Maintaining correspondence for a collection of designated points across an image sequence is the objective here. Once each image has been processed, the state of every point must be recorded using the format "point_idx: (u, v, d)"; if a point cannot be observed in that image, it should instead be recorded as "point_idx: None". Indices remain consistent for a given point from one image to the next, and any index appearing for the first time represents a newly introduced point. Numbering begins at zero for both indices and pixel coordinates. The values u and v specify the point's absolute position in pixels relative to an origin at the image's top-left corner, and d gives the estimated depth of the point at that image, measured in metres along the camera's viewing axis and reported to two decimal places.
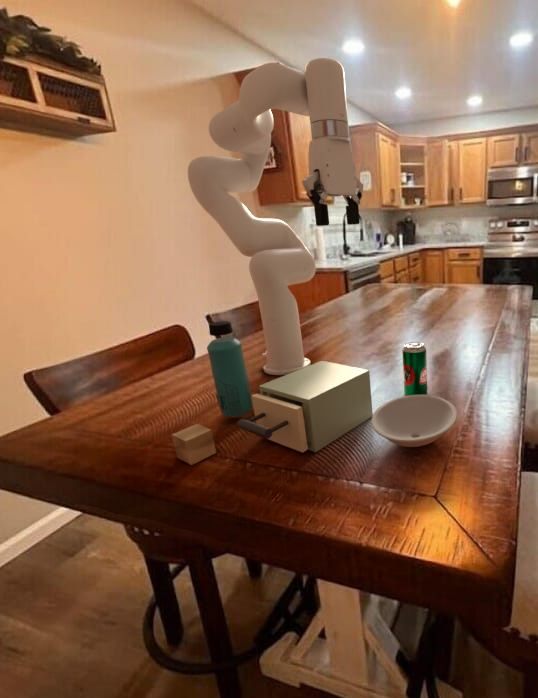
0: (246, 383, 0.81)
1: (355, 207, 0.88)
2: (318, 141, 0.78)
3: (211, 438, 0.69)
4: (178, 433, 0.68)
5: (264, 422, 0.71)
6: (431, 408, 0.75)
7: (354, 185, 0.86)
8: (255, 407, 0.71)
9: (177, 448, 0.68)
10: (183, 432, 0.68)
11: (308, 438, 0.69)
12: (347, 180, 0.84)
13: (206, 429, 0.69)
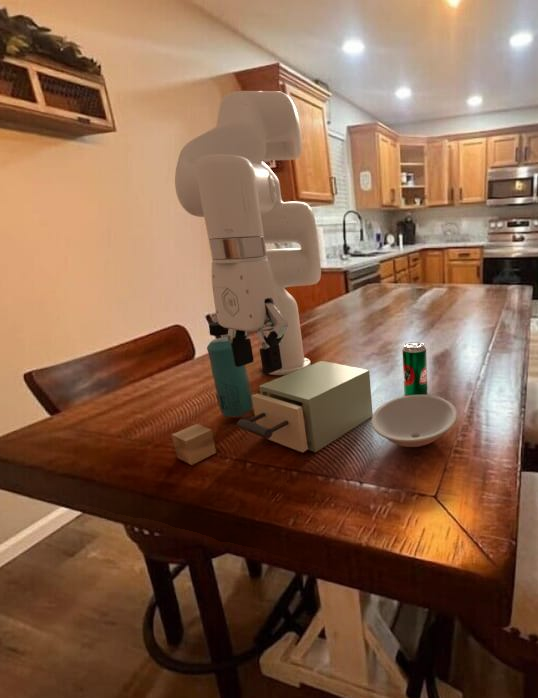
0: (246, 383, 0.81)
1: (249, 342, 0.66)
2: (264, 263, 0.57)
3: (211, 438, 0.69)
4: (178, 433, 0.68)
5: (264, 422, 0.71)
6: (431, 408, 0.75)
7: None
8: (255, 407, 0.71)
9: (177, 448, 0.68)
10: (183, 432, 0.68)
11: (308, 438, 0.69)
12: None
13: (206, 429, 0.69)
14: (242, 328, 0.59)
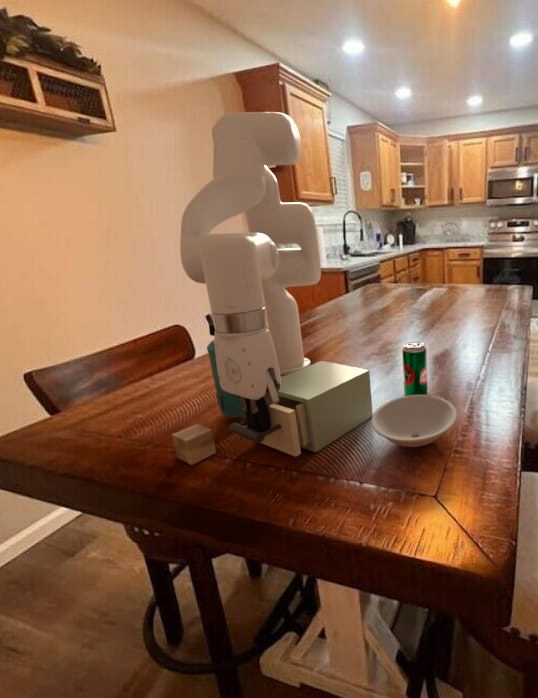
0: None
1: None
2: (265, 334, 0.59)
3: (211, 438, 0.69)
4: (178, 433, 0.68)
5: None
6: (431, 408, 0.75)
7: None
8: None
9: (177, 448, 0.68)
10: (183, 432, 0.68)
11: (301, 442, 0.68)
12: None
13: (206, 429, 0.69)
14: (244, 396, 0.61)
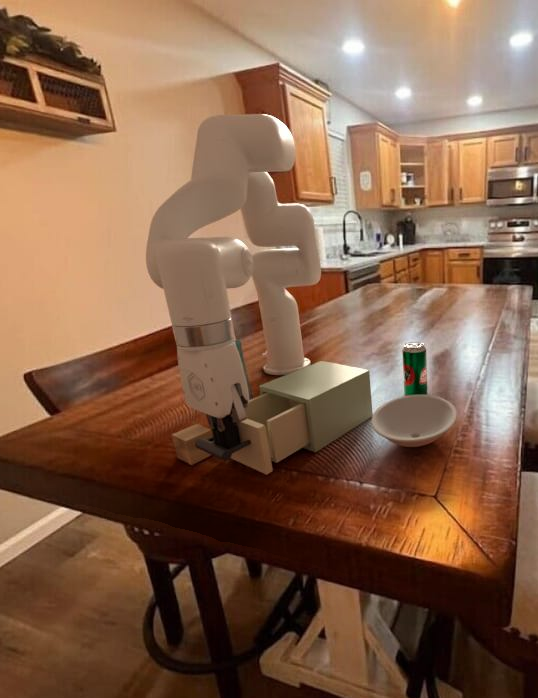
0: None
1: None
2: (230, 348, 0.55)
3: None
4: (178, 433, 0.68)
5: None
6: (431, 408, 0.75)
7: None
8: None
9: (177, 448, 0.68)
10: (183, 432, 0.68)
11: (274, 458, 0.64)
12: None
13: (206, 429, 0.69)
14: (208, 413, 0.56)
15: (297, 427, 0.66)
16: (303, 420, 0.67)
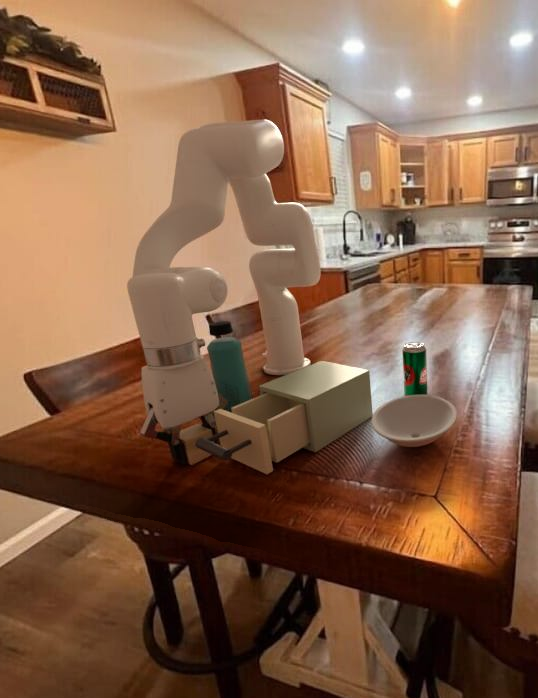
0: (246, 383, 0.81)
1: None
2: (148, 373, 0.61)
3: None
4: None
5: (228, 440, 0.65)
6: (431, 408, 0.75)
7: (213, 401, 0.68)
8: (218, 424, 0.66)
9: None
10: (183, 432, 0.68)
11: (274, 458, 0.64)
12: (200, 402, 0.66)
13: (206, 429, 0.69)
14: None
15: (297, 427, 0.66)
16: (304, 419, 0.67)
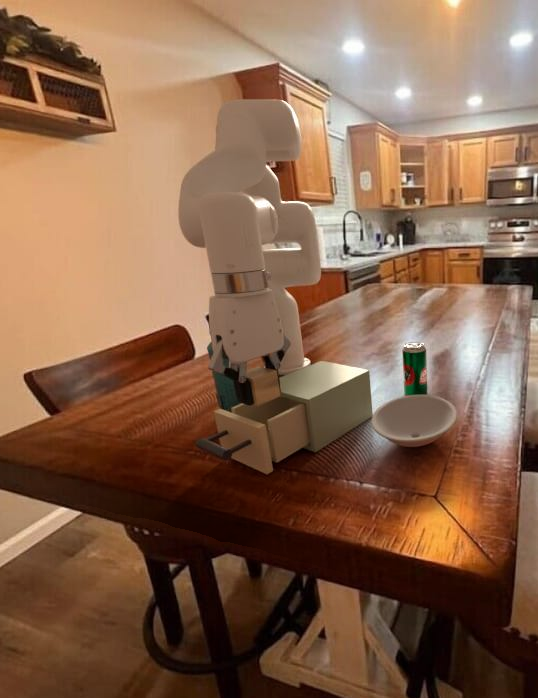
0: None
1: None
2: (218, 300, 0.56)
3: (276, 379, 0.65)
4: None
5: (228, 440, 0.65)
6: (431, 408, 0.75)
7: (279, 340, 0.64)
8: (218, 424, 0.66)
9: None
10: (247, 372, 0.64)
11: (274, 458, 0.64)
12: (267, 339, 0.62)
13: (271, 370, 0.65)
14: None
15: (297, 427, 0.66)
16: (304, 419, 0.67)
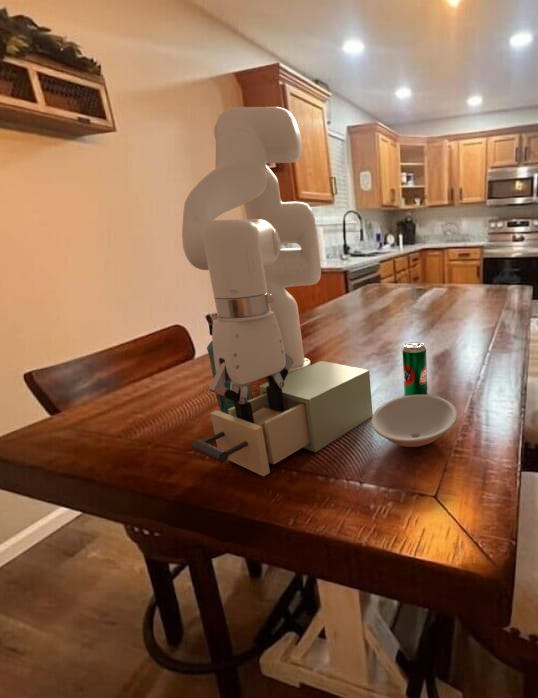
0: None
1: (277, 393, 0.67)
2: (222, 325, 0.57)
3: None
4: None
5: (224, 441, 0.65)
6: (431, 408, 0.75)
7: (281, 361, 0.65)
8: (214, 425, 0.65)
9: None
10: (253, 417, 0.66)
11: (271, 460, 0.63)
12: (269, 360, 0.63)
13: (276, 412, 0.67)
14: None
15: (294, 428, 0.66)
16: (301, 421, 0.67)
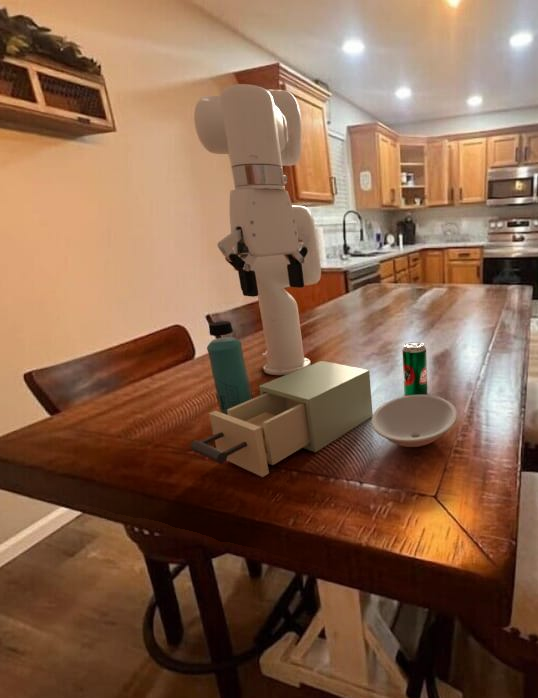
0: (246, 383, 0.81)
1: (297, 267, 0.70)
2: (239, 191, 0.60)
3: None
4: (249, 421, 0.66)
5: (223, 442, 0.65)
6: (431, 408, 0.75)
7: (294, 241, 0.68)
8: (213, 426, 0.65)
9: None
10: (254, 420, 0.66)
11: (270, 460, 0.63)
12: (283, 237, 0.65)
13: None
14: None
15: (293, 429, 0.66)
16: (300, 421, 0.67)
